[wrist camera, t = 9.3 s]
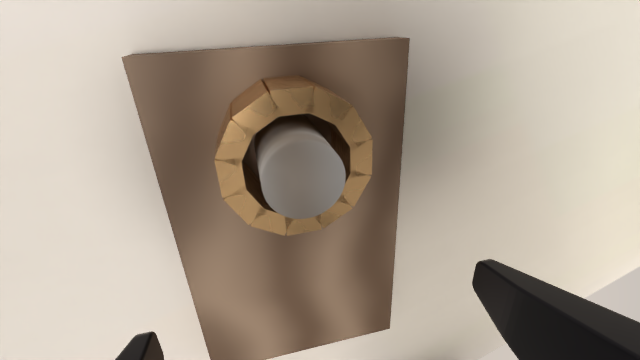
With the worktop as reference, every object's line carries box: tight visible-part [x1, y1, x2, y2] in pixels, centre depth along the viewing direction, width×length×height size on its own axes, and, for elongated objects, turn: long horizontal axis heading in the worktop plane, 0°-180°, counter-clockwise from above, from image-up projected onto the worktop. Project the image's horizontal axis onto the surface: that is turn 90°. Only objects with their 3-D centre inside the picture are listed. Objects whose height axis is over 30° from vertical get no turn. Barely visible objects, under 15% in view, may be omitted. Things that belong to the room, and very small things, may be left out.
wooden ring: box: [215, 75, 373, 236], centre depth 17 cm, size 7×7×4 cm
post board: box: [122, 37, 410, 360], centre depth 19 cm, size 14×22×6 cm, turn 3°
